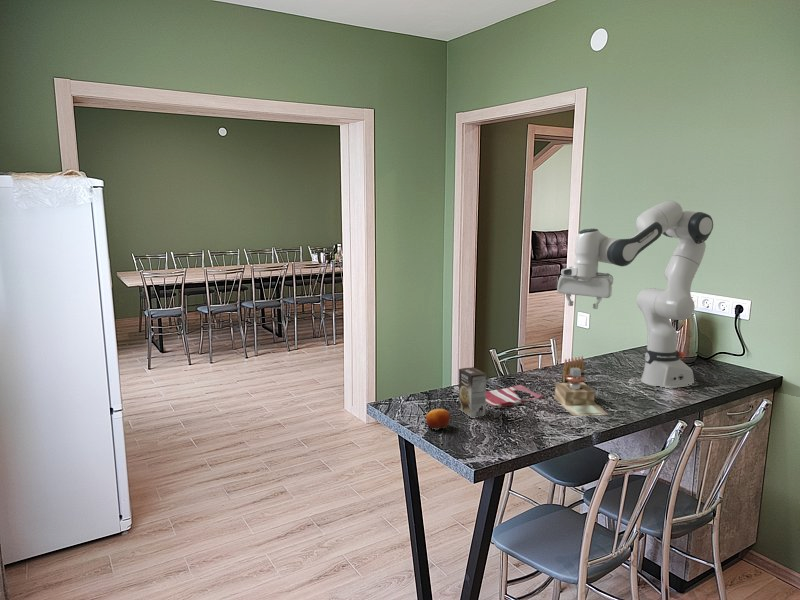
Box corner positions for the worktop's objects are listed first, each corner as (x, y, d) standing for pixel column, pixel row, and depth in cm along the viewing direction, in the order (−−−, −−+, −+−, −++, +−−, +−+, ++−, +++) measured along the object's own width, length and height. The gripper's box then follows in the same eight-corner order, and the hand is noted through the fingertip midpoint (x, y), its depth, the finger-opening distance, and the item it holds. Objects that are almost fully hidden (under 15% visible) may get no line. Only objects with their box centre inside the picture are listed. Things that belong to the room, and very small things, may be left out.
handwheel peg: (579, 396, 230) (581, 365, 228) (586, 402, 223) (588, 371, 221) (562, 397, 230) (563, 366, 227) (568, 403, 223) (569, 371, 221)
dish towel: (545, 401, 229) (545, 395, 229) (494, 411, 219) (494, 404, 219) (518, 389, 244) (518, 382, 244) (469, 397, 234) (470, 391, 234)
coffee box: (457, 411, 218) (458, 368, 215) (472, 408, 221) (473, 366, 218) (470, 419, 210) (471, 375, 207) (486, 416, 213) (487, 373, 210)
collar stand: (584, 396, 233) (585, 381, 232) (608, 417, 211) (609, 400, 210) (552, 397, 232) (552, 382, 231) (572, 418, 210) (573, 402, 209)
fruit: (435, 432, 195) (429, 408, 198) (426, 436, 202) (421, 413, 205) (457, 428, 199) (451, 404, 201) (447, 432, 205) (441, 409, 208)
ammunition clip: (580, 382, 250) (582, 355, 248) (584, 384, 248) (585, 356, 246) (561, 386, 245) (562, 358, 243) (564, 388, 244) (565, 359, 241)
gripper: (615, 273, 225) (612, 309, 227) (562, 268, 236) (559, 303, 238) (611, 274, 220) (608, 311, 222) (557, 270, 230) (554, 305, 233)
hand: (582, 307), depth 230 cm, fingers open, 8 cm apart
